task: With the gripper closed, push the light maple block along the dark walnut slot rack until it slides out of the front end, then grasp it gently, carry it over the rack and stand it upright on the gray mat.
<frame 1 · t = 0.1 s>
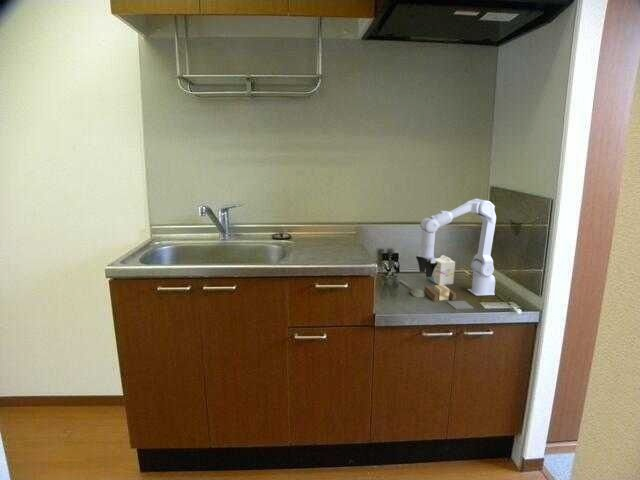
hand: (425, 274, 178), 10 cm above the worktop, tool pointing down, fingers open, 7 cm apart
gray mat: (460, 305, 169), on the worktop
soupspoon: (410, 290, 188), on the worktop
maple block: (440, 297, 178), on the worktop
slot rack: (439, 296, 179), on the worktop
ink box: (441, 282, 200), on the worktop
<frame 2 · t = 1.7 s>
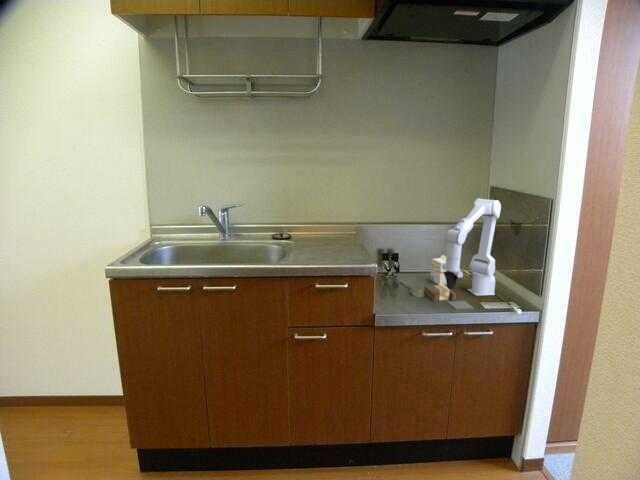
hand: (450, 288, 169), 7 cm above the worktop, tool pointing down, fingers closed
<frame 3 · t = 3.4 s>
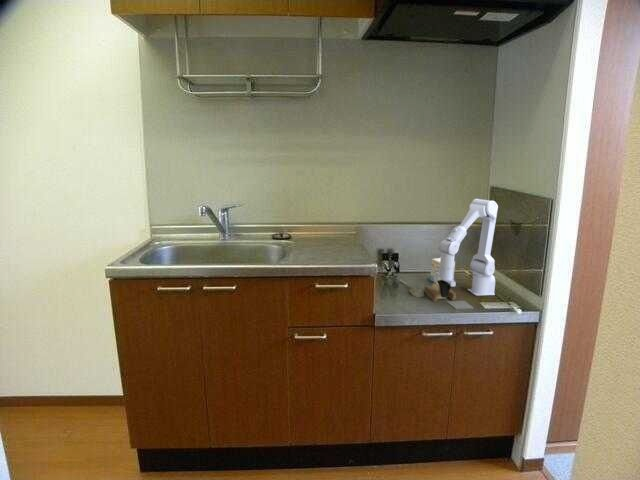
hand: (444, 296, 175), 1 cm above the worktop, tool pointing down, fingers closed
maple block: (439, 296, 180), on the worktop, touching gripper
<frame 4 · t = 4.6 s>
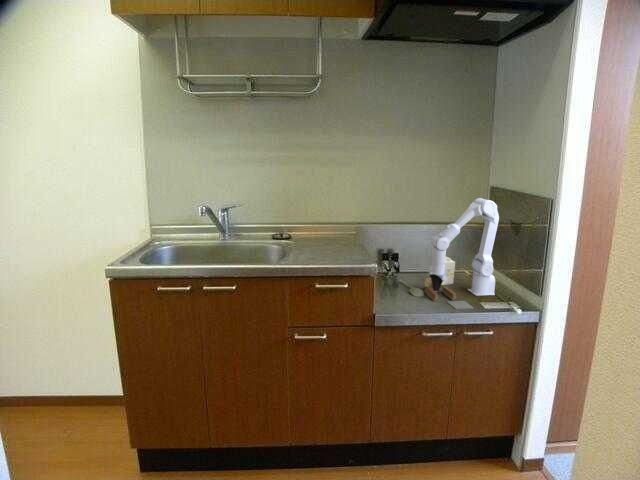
hand: (436, 290, 183), 1 cm above the worktop, tool pointing down, fingers closed
maple block: (431, 290, 188), on the worktop, touching gripper
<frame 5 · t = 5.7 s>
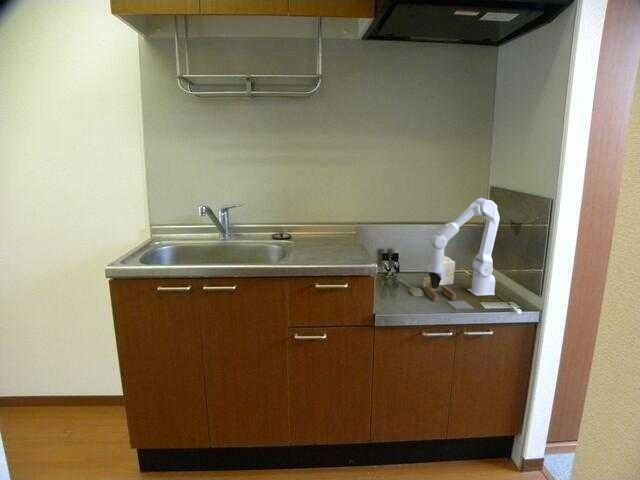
hand: (434, 288, 184), 2 cm above the worktop, tool pointing down, fingers closed
maple block: (430, 289, 189), on the worktop
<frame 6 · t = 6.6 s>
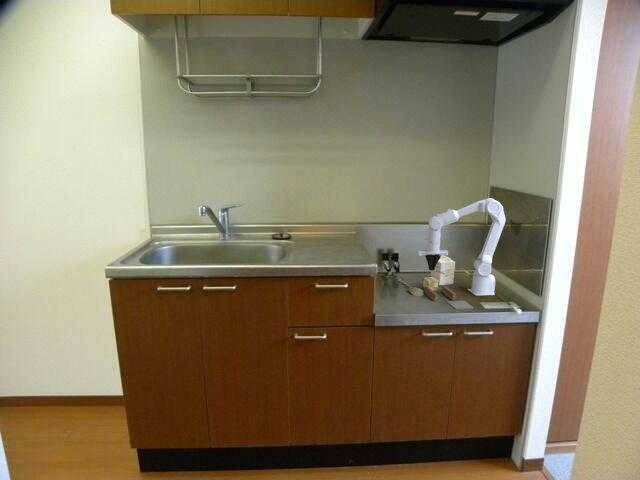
hand: (431, 269, 187), 9 cm above the worktop, tool pointing down, fingers closed
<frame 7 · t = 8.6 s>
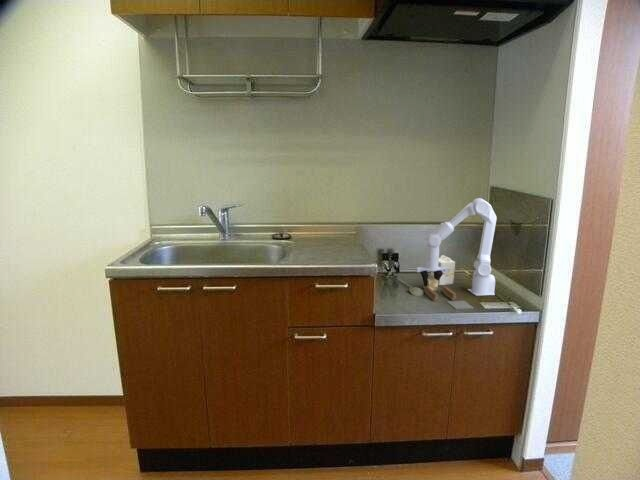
hand: (430, 285, 189), 1 cm above the worktop, tool pointing down, fingers closed on maple block, 4 cm apart
maple block: (430, 288, 189), on the worktop, touching gripper
when the fingers open (3 cm above the worktop, at t = 14.2 s): maple block stays where it is, resting on gray mat.
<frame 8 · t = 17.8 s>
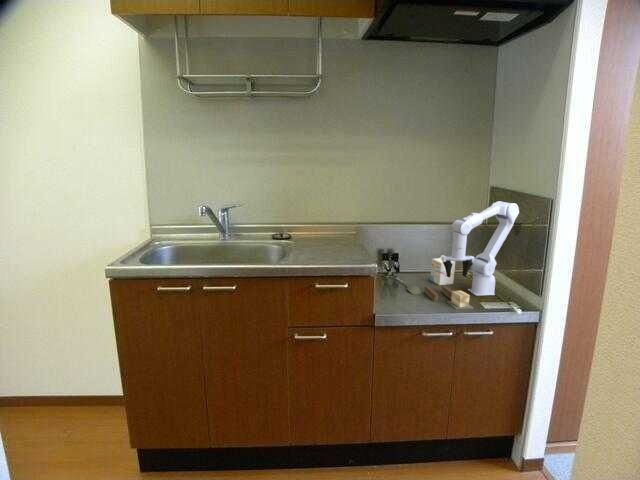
hand: (456, 276, 178), 9 cm above the worktop, tool pointing down, fingers open, 7 cm apart
soupspoon: (406, 287, 192), on the worktop
maple block: (459, 304, 169), resting on gray mat
everything else where it was.
at the end: maple block 0.3 cm off-centre on the gray mat, point 0.4 cm above the gray mat's base; maple block tilted 0°; the gripper is holding nothing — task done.
